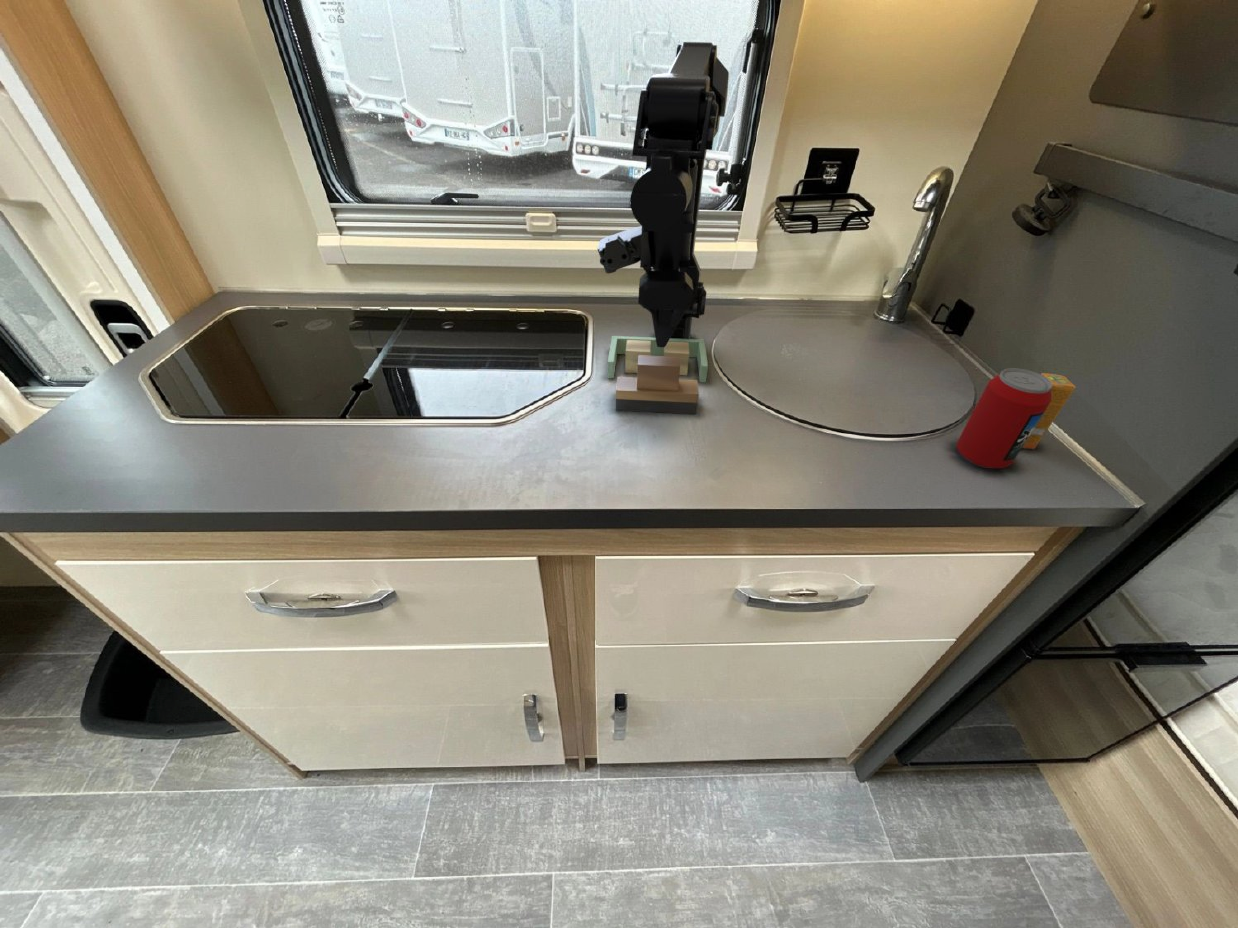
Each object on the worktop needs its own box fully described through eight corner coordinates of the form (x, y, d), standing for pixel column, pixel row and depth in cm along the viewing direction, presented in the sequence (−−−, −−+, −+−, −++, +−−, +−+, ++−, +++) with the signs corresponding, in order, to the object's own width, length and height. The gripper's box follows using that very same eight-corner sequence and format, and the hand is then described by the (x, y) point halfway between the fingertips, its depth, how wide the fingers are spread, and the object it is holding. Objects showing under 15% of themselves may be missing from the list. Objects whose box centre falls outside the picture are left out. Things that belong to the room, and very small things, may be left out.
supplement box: (1037, 450, 72) (1079, 387, 66) (1010, 447, 72) (1049, 384, 66) (1027, 436, 74) (1066, 374, 68) (1001, 433, 75) (1037, 371, 69)
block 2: (662, 362, 90) (664, 341, 87) (686, 363, 90) (688, 342, 87) (662, 374, 87) (664, 352, 84) (687, 375, 87) (689, 353, 84)
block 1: (626, 361, 90) (626, 339, 88) (649, 362, 90) (650, 340, 88) (625, 372, 87) (625, 350, 85) (649, 373, 87) (650, 351, 84)
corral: (612, 351, 93) (612, 335, 91) (702, 355, 92) (704, 339, 90) (607, 378, 86) (607, 361, 84) (705, 382, 85) (708, 366, 83)
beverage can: (1018, 476, 68) (1070, 396, 60) (961, 469, 69) (1005, 389, 61) (999, 445, 73) (1045, 368, 65) (947, 439, 74) (986, 362, 66)
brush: (617, 396, 81) (618, 352, 77) (694, 399, 81) (700, 356, 76) (615, 410, 78) (616, 365, 73) (696, 414, 78) (701, 369, 73)
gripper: (608, 189, 70) (608, 303, 79) (593, 228, 55) (595, 361, 65) (692, 191, 69) (681, 305, 79) (699, 231, 55) (685, 365, 65)
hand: (661, 331), depth 72 cm, fingers open, 9 cm apart
